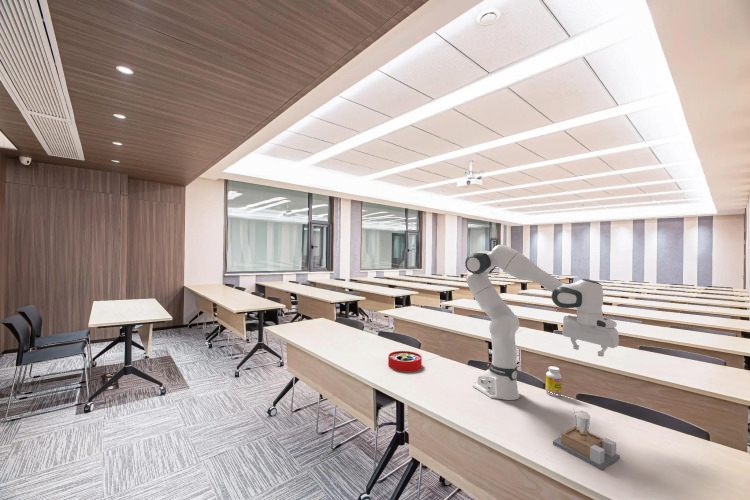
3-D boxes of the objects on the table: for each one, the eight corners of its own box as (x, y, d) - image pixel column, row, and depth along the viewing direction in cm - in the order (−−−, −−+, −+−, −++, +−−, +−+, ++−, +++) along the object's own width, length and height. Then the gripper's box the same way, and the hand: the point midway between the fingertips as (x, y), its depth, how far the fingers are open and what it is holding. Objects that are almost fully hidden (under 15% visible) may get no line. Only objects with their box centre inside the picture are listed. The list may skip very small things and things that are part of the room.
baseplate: (553, 444, 117) (553, 430, 117) (570, 435, 123) (571, 421, 123) (602, 470, 103) (602, 454, 103) (619, 458, 109) (620, 443, 109)
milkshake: (573, 431, 118) (573, 404, 118) (590, 437, 114) (591, 409, 114) (571, 437, 114) (571, 409, 114) (589, 443, 111) (589, 414, 111)
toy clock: (396, 349, 208) (426, 354, 199) (396, 358, 208) (426, 363, 199) (382, 357, 191) (414, 364, 181) (382, 367, 191) (414, 374, 181)
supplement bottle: (554, 397, 155) (555, 371, 155) (542, 392, 161) (543, 366, 161) (564, 395, 157) (564, 369, 157) (552, 390, 164) (552, 364, 164)
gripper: (559, 314, 140) (558, 346, 140) (613, 325, 123) (612, 361, 123) (567, 313, 143) (566, 344, 143) (621, 323, 126) (620, 359, 126)
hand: (588, 352), depth 133 cm, fingers open, 8 cm apart
